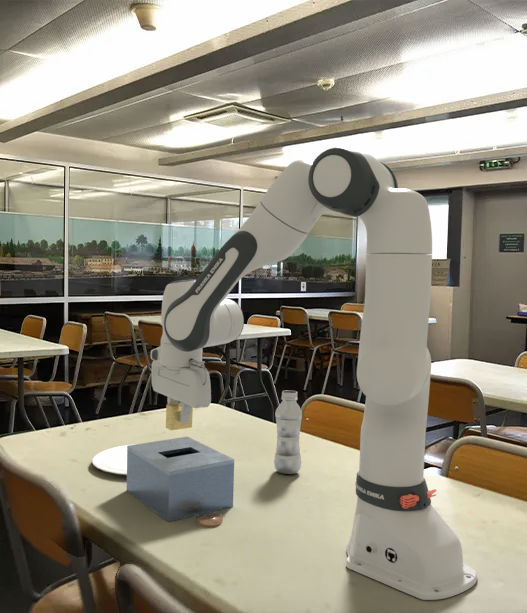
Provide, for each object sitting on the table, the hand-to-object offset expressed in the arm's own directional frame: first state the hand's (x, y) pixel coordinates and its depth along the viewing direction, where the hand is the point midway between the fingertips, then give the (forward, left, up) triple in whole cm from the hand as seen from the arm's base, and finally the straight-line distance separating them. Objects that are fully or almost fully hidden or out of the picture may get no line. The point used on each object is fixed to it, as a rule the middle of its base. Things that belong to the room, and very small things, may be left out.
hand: (179, 420), depth 132 cm
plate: (+25, -4, -18) cm, 31 cm away
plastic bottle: (+1, -31, -17) cm, 35 cm away
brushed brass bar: (0, 0, -2) cm, 2 cm away
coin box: (0, 0, -17) cm, 17 cm away
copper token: (-14, 0, -17) cm, 22 cm away
